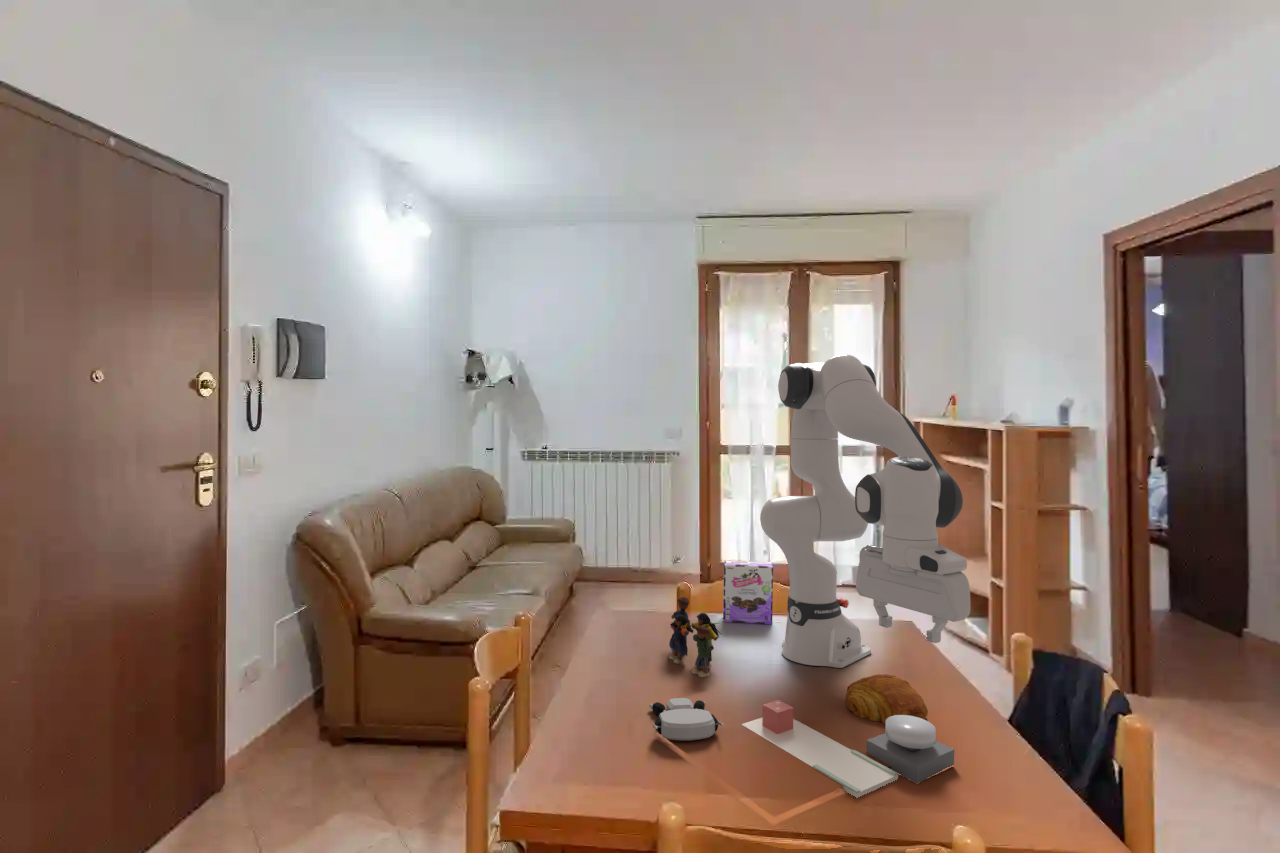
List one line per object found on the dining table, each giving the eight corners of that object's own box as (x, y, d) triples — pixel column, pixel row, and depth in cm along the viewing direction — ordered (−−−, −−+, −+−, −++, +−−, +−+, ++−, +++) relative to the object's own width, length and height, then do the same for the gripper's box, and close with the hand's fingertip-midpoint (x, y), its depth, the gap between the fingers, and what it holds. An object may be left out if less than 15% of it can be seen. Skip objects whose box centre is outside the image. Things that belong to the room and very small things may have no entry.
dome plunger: (904, 733, 122) (904, 711, 122) (945, 752, 116) (945, 729, 116) (875, 744, 118) (875, 722, 118) (915, 765, 111) (916, 741, 111)
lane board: (780, 715, 134) (780, 710, 134) (897, 779, 111) (897, 773, 111) (729, 732, 127) (729, 726, 127) (843, 804, 104) (843, 797, 104)
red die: (778, 720, 130) (778, 698, 130) (793, 728, 127) (793, 706, 127) (762, 725, 128) (762, 703, 128) (777, 734, 125) (777, 711, 125)
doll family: (647, 650, 170) (647, 596, 169) (676, 643, 175) (676, 591, 174) (707, 681, 151) (708, 621, 150) (738, 672, 156) (738, 614, 156)
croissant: (834, 715, 140) (829, 677, 139) (895, 694, 145) (891, 657, 144) (881, 746, 126) (876, 704, 126) (947, 722, 131) (942, 681, 131)
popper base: (903, 742, 124) (903, 725, 124) (954, 766, 115) (954, 749, 115) (866, 757, 119) (866, 740, 118) (917, 784, 110) (917, 765, 110)
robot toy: (646, 718, 135) (656, 751, 120) (645, 695, 135) (656, 724, 120) (707, 715, 136) (724, 747, 121) (706, 692, 136) (724, 721, 122)
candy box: (722, 622, 192) (723, 564, 191) (723, 615, 198) (724, 559, 197) (772, 625, 190) (773, 566, 189) (772, 618, 195) (772, 561, 195)
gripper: (848, 544, 123) (847, 620, 124) (953, 566, 106) (951, 654, 106) (871, 541, 127) (871, 615, 127) (976, 561, 109) (975, 647, 110)
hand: (908, 633), depth 117 cm, fingers open, 8 cm apart
